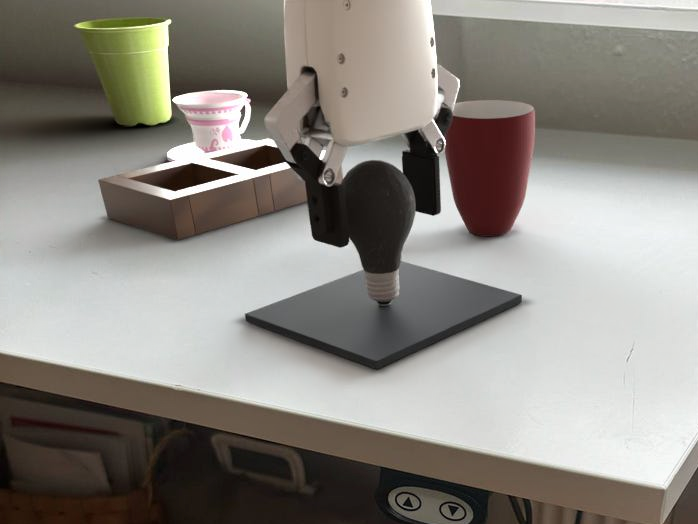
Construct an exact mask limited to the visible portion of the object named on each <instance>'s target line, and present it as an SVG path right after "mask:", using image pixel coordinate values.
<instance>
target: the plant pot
mask: <svg viewBox="0 0 698 524" xmlns="http://www.w3.org/2000/svg"><path fill="white" fill-rule="evenodd" d="M171 23H172V20H171V19H170V18H165V17H152V16H151V17H147V16H145V17H144V16H142V17H141V16H140V17H115V18H113V17H112V18H102V19H94V20H93V19H92V20H87V21H82V22H77V23H75V24H74V25H73V28H74V29H75V30H77V31H79V34H80V37H81V39H82V41H83V44H84V47H85V49H86V50H87V51H88V52H89V55H90V58H91V61H92V63H93V65H94V68H95V71H96V74H97V76H98V79H99V81H100V84H101V87H102V89H103V91H104V94H105V98H106V100H107V102H108V105H109V107H110V110H111V112H112V116H113V117H114V121H115V122H116V123H117V125H118V124H119V125H120V126H126V127H133V126H134V127H135V126H136V125H138V124H143V125H145V126H156V125H158V124H165V123H167V122H168V121H170V120H171V118H172V103H171V87H170V72H169V71H170V70H169V69H170V68H169V53H168V52H169V51H168V47H169V45H170V44H169V25H170V24H171Z"/></svg>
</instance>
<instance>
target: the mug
mask: <svg viewBox="0 0 698 524" xmlns="http://www.w3.org/2000/svg"><path fill="white" fill-rule="evenodd" d="M451 111H452V114H453V119H452V123H451V125H450V127H449V129H448V131H447V133H446V135H445V137H444V140H445V150H444V156H445V161H446V166H447V167H446V168H447V172H448V178H449V181H450V189H451V193H452V198H453V202H454V205H455V207H456V210H457V211H458V214H459V216H460V217H461V220H462V221H463V223H464V225H465V228H466V229H467V231H468V232H469V233H470V234H472V235H476V236H481V237H495V236H501V235H505V234H508V233H509V232H510V231H511V230H512V228H513V226H514V225H515V223H516V220H517V218H518V216H519V214H520V212H521V209H522V207H523V206H524V203H525V199H526V194H527V188H528V182H529V176H530V170H531V165H532V159H533V154H534V148H535V136H536V135H535V134H536V109H535V107H534V106H533V105H532V104H529V103H527V102H522V101H516V100H507V99H476V100H465V101H460V102H455V105H454V108H453V109H452V110H451Z"/></svg>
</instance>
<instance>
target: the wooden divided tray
mask: <svg viewBox="0 0 698 524" xmlns="http://www.w3.org/2000/svg"><path fill="white" fill-rule="evenodd" d="M255 141H256V142H252V143H248V144H244V145H240V146H236V147H232V148H227V149H223V150H219V151H215V152H211V153H207V154H202V155H198V156H194V157H190V158H186V159H182V160H177V161H173V162H171V161H169V162H166V163H160V164H157V165H152V166H149V167H144V168H141V169H136V170H131V171H128V172H127V171H126V172H123V173H119V174H116V175H111V176H107V177H103V178H99V179H98V185H99V189H100V191H101V196H102V200H103V205H104V208H105V213H106V217H107V218H108V219H109V220H113V221H117V222H119V223H122V224H126V225H130V226H132V227H136V228H138V229H141V230H145V231H148V232H151V233H155V234H157V235H161V236H164V237H166V238H169V239H173V240H177V241H181V240H184V239H187V238H190V237H194V236H197V235H200V234H204V233H208V232H210V231H214V230H217V229H220V228H224V227H228V226H230V225H234V224H237V223H241V222H244V221H248V220H251V219H254V218H258V217H260V216H263V215H267V214H271V213H274V212H278V211H280V210H284V209H287V208H291V207H294V206H298V205H301V204H304V203H308V202H307V194H306V186H305V181H302V180H299V179H298V178H297V177H296V175H295V171H294V170H293V169H292V168H291V167H290V166H289V165H288V164H287V163H286V162H285V161H284V160H283V159H282V158H281V156H280V149H279V148H277V146H276V145H275V143H274V141H273V139H272V138H271V139H270V138H265V139H260V140H255ZM325 151H326V150H322V153H321V155H320V158H319V159H320V160H321V161H322V159H323V156H324V154H325ZM343 173H344V172H343V164H342V165H341V168H340V170H339V173H338V176H337V178H336V181H335V183H339V184H341V182H342V180H343V178H344V176H343V175H344V174H343Z"/></svg>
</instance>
